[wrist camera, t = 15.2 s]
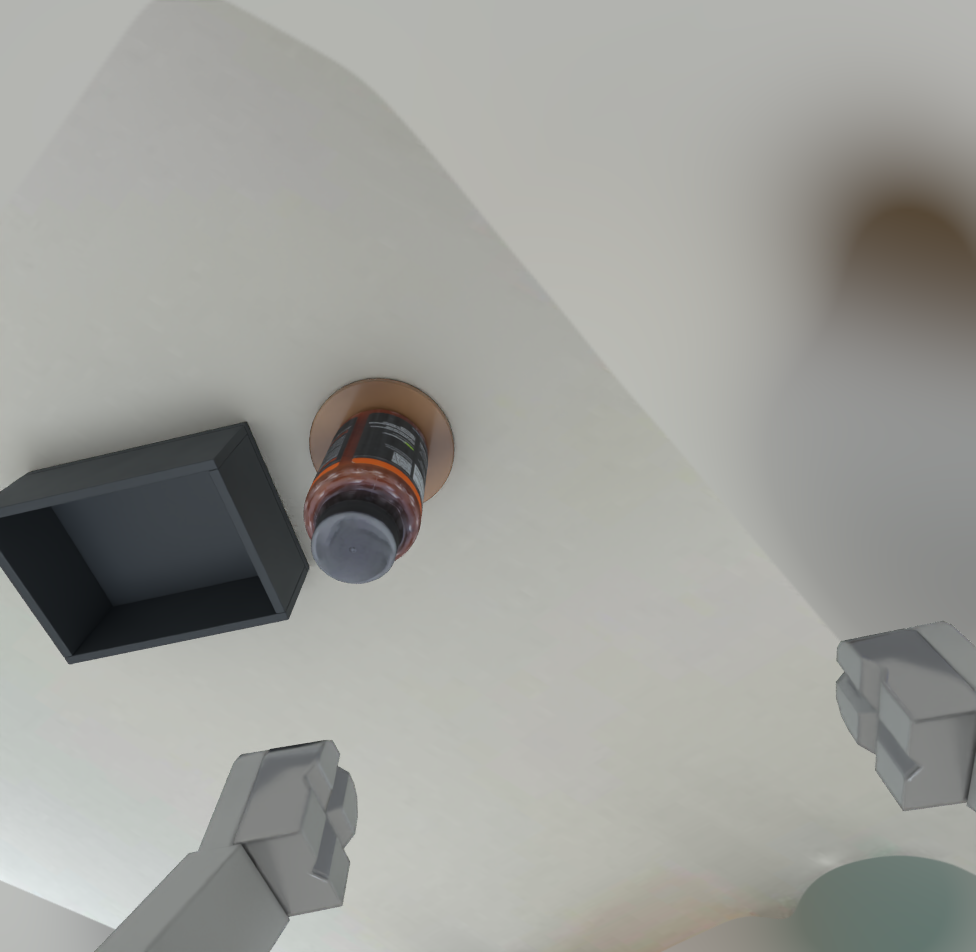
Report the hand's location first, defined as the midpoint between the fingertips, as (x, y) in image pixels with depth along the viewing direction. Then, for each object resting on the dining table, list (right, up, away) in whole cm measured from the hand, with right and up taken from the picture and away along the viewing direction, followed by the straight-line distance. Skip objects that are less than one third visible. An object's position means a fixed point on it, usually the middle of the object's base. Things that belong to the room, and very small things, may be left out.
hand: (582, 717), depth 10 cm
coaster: (-8, +6, +29) cm, 31 cm away
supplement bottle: (-8, +6, +29) cm, 31 cm away
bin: (-22, +1, +31) cm, 38 cm away
